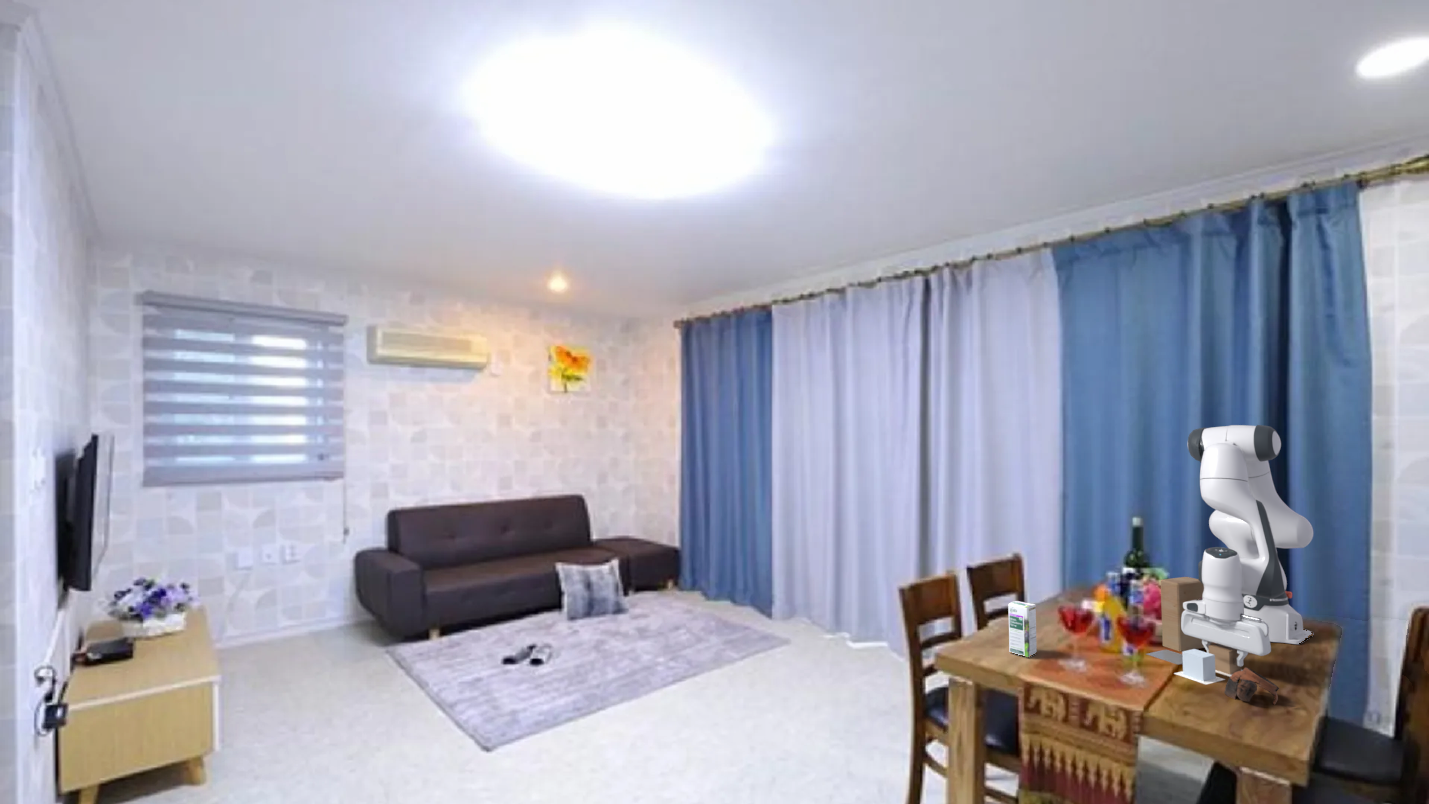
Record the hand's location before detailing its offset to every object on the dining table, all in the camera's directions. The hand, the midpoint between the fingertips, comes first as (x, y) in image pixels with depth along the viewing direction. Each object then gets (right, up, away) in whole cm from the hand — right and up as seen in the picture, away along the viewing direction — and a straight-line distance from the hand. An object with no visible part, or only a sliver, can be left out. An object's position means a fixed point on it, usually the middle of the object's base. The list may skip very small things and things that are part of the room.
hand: (1224, 661), depth 175 cm
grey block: (-10, -2, -4) cm, 11 cm away
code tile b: (-10, -3, -4) cm, 11 cm away
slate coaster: (-7, -3, +10) cm, 13 cm away
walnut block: (0, -2, 0) cm, 2 cm away
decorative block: (+2, -3, +18) cm, 19 cm away
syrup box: (-47, -4, +15) cm, 50 cm away
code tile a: (0, -3, 0) cm, 3 cm away
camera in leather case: (-8, -3, -18) cm, 20 cm away
